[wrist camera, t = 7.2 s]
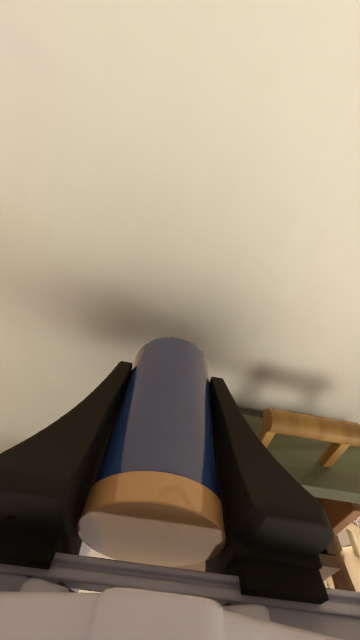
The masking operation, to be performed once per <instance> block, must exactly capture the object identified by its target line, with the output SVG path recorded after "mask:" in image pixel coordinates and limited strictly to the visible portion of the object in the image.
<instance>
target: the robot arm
mask: <svg viewBox="0 0 360 640" xmlns="http://www.w3.org/2000/svg"><path fill="white" fill-rule="evenodd" d="M131 371H132V363H129V362H123V361H121V362H119V363H118V365H117V366H116V367H115V368H114V370H113V371H112V372H111V373H110V374H109V375H108V377H107V378H106V379H105V380H104V381H103V382H102V383H101V384H100V385H99V386H98V387H97V388H96V389H95V390H94V391H93V392H92V393H91V394H89V395H88V396H87V397H86V398H85V399H84V400H83V401H82V402H80V403H79V404H78V405H77V406H76V407H74V408H73V409H72V410H70V411H69V412H68V413H67V414H65V415H64V416H62V417H61V418H60V419H58V420H57V421H55V422H54V423H52V424H51V425H49V426H48V427H46V428H45V429H43V430H41V431H40V432H38V433H37V434H35V435H33V436H32V437H30V438H28V439H27V440H25V441H23V442H21V443H19V444H18V445H16V446H14V447H12V448H10V449H8V450H6V451H4V452H3V453H1V454H0V640H360V592H354V591H347V590H339V589H331V588H325V585H324V582H323V579H322V576H321V573H320V570H319V569H322V563H321V560H320V557H319V555H318V554H319V553H321V552H322V551H323V550H324V549H326V548H327V547H328V546H329V545H330V544H331V543H332V542H333V540H334V536H335V534H334V532H333V529H332V527H331V524H330V522H329V519H328V517H327V514H326V512H325V510H324V508H323V506H322V504H321V503H320V502H319V501H318V500H317V499H316V498H315V497H314V496H313V495H311V494H310V493H309V492H308V491H307V490H306V489H305V488H304V487H303V486H301V485H300V484H299V483H298V482H297V481H296V480H295V479H294V478H293V477H292V476H291V475H290V474H289V473H288V472H287V471H286V470H285V469H284V468H283V466H282V465H281V464H280V463H279V462H278V461H277V460H276V459H275V458H274V456H273V455H272V454H271V453H270V452H269V451H268V450H267V448H266V447H265V446H264V445H263V443H262V442H261V441H260V439H259V438H258V437H257V436H256V434H255V433H254V431H253V430H252V428H251V427H250V426H249V424H248V422H247V421H246V419H245V418H244V416H243V415H242V413H241V411H240V410H239V408H238V406H237V405H236V403H235V401H234V399H233V397H232V396H231V394H230V392H229V390H228V388H227V386H226V384H225V382H224V380H223V379H222V378H216V377H212V378H211V381H210V395H211V406H212V418H213V429H214V441H215V452H216V463H217V475H218V486H219V498H220V501H221V503H222V505H223V509H224V519H225V529H226V539H227V540H226V545H225V547H224V549H223V550H222V551H221V552H220V553H219V554H218V555H216V556H215V557H213V558H211V559H209V560H206V565H205V572H202V571H195V570H187V569H180V568H172V567H164V566H157V565H149V564H142V563H134V562H126V561H119V560H111V559H104V558H96V557H89V556H88V555H89V552H90V547H89V546H88V545H86V544H85V543H84V542H83V541H82V540H81V538H80V537H79V535H78V533H77V529H76V526H77V521H78V518H79V515H80V512H81V509H82V506H83V503H84V501H85V498H86V495H87V492H88V491H89V489H90V488H91V487H92V486H93V484H94V481H95V478H96V475H97V472H98V469H99V466H100V463H101V460H102V457H103V454H104V451H105V448H106V445H107V442H108V439H109V436H110V433H111V430H112V427H113V424H114V421H115V418H116V415H117V412H118V409H119V406H120V403H121V400H122V397H123V395H124V392H125V389H126V386H127V383H128V380H129V377H130V374H131ZM79 589H80V590H88V591H96V592H102V593H78V591H79ZM222 607H224V608H222Z"/></svg>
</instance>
